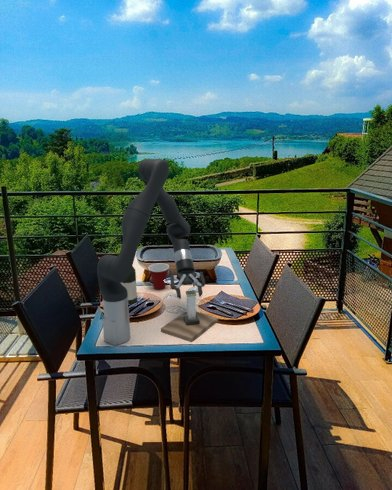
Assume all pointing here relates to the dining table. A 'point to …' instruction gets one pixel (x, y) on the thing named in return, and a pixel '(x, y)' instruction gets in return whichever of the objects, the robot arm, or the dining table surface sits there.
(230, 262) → the dining table surface
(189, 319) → the square capped column
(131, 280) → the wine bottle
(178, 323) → the serving board
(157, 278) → the plastic cup
